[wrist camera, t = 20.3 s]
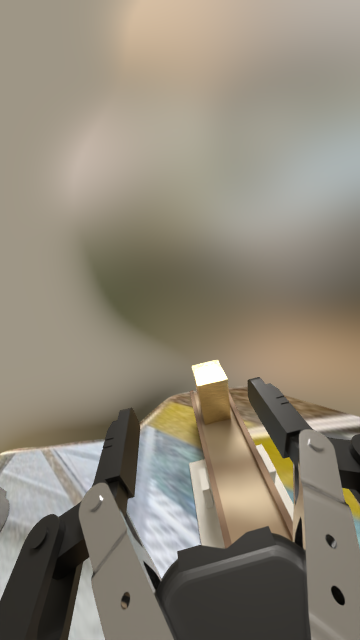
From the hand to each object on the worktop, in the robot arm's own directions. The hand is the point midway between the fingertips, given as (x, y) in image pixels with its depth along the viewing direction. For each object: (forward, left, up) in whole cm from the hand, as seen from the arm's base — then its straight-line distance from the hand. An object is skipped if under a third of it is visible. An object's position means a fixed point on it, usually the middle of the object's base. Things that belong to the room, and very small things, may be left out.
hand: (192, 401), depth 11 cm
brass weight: (-12, +9, -22) cm, 26 cm away
